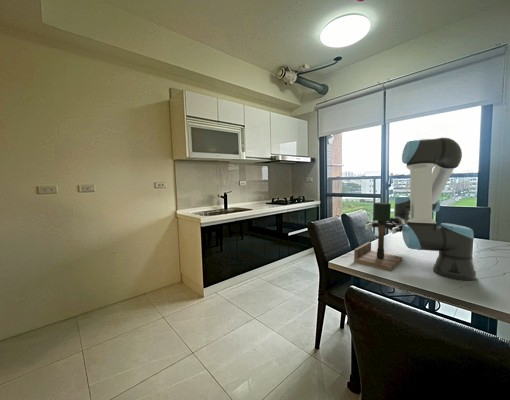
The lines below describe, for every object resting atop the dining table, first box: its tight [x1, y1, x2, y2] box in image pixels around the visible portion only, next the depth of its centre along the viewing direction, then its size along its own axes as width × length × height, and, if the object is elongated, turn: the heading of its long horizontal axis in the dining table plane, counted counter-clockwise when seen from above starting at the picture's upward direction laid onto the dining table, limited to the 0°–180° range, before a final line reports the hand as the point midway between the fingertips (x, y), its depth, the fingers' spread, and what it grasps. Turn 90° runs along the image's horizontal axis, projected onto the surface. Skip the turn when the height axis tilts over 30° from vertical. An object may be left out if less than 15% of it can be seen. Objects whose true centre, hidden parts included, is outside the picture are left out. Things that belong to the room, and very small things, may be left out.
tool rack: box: [353, 241, 403, 272], centre depth 124 cm, size 20×18×7 cm
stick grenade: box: [372, 202, 392, 259], centre depth 122 cm, size 8×9×30 cm
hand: (378, 228), depth 120 cm, fingers open, 13 cm apart
